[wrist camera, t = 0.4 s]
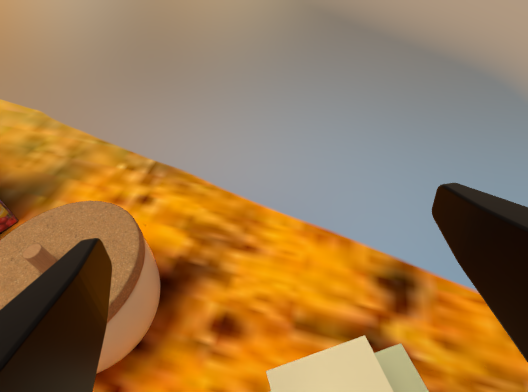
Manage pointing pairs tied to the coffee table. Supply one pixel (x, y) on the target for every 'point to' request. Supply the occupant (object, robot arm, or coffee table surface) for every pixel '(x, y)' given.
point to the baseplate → (400, 370)
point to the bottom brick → (332, 371)
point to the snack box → (6, 217)
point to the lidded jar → (121, 255)
